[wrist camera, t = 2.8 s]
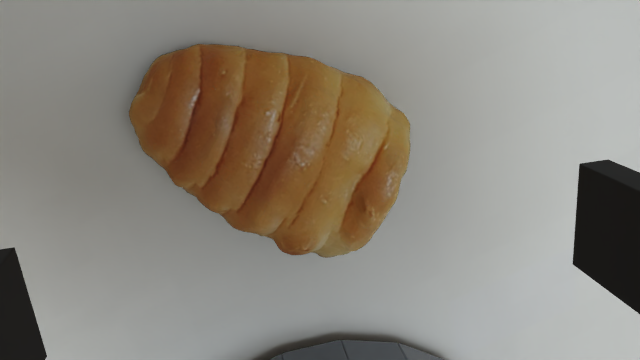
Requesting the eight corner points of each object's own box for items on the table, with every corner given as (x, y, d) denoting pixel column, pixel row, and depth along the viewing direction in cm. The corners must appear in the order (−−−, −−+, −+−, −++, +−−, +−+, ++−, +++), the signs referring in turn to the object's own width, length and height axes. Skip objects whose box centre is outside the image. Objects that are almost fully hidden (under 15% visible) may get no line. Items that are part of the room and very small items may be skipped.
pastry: (109, 166, 20) (86, 203, 16) (180, -12, 19) (172, -13, 15) (336, 251, 23) (359, 298, 19) (413, 102, 21) (453, 123, 18)
